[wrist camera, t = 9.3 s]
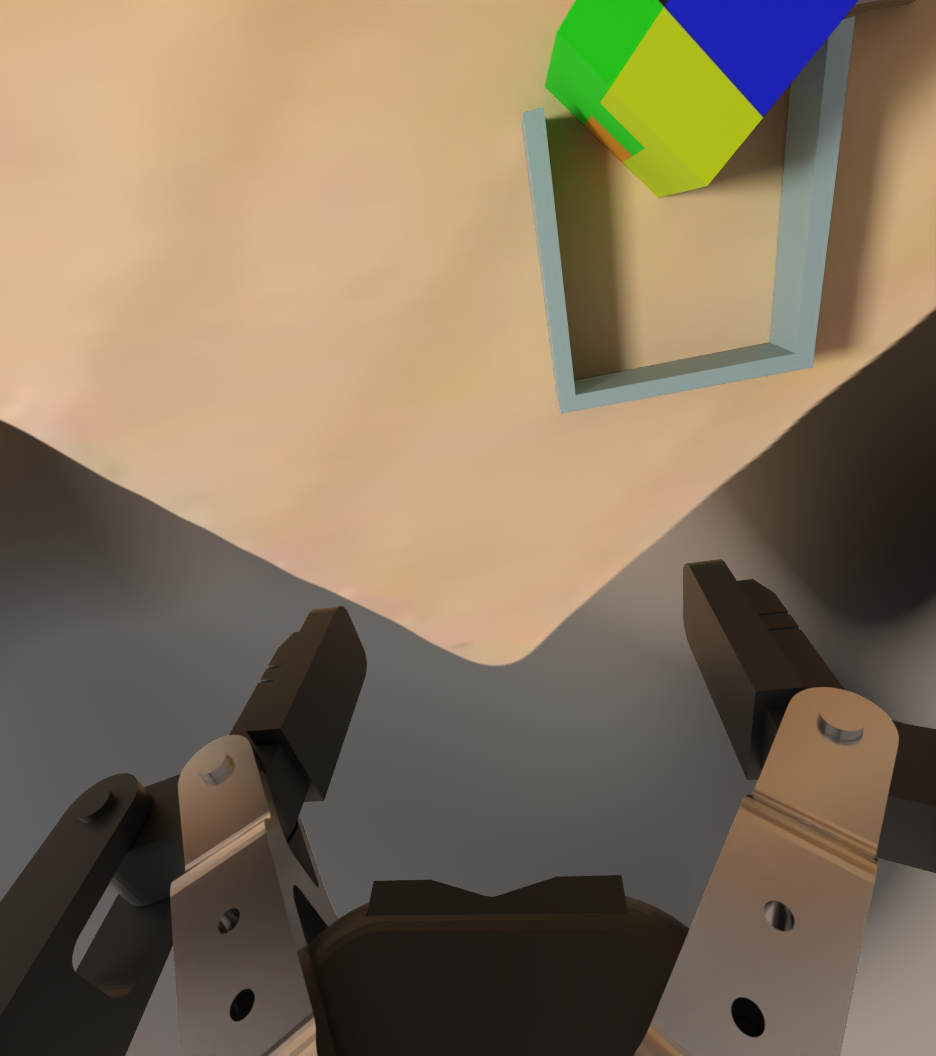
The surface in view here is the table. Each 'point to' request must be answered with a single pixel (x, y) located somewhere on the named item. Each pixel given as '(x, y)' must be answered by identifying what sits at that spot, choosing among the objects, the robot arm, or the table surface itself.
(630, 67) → the puzzle toy
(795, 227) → the grey-blue flat square frame
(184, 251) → the table surface
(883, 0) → the crook tool
